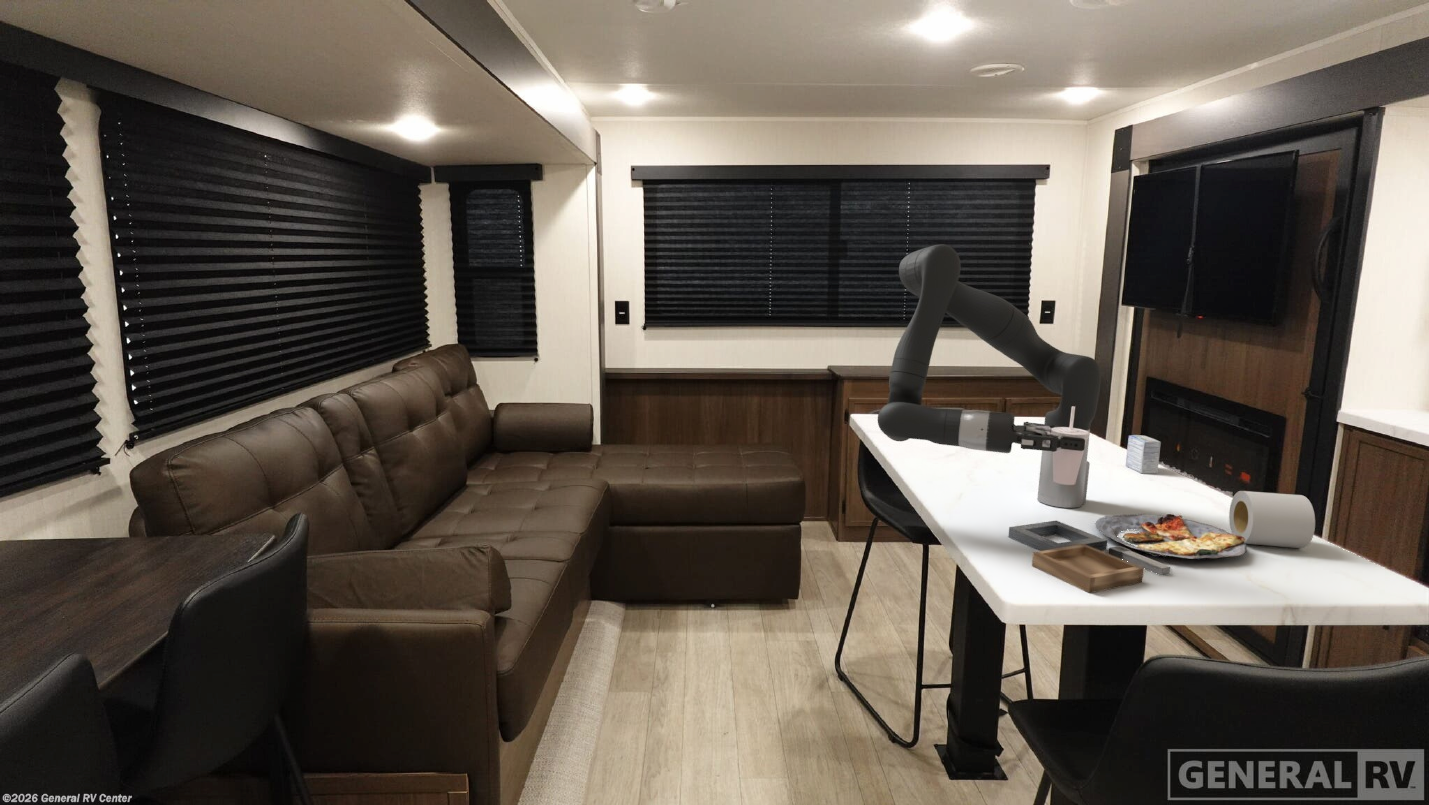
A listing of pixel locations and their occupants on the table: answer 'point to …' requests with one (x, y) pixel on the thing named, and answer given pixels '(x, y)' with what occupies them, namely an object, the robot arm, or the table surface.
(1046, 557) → the tray
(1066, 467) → the smoothie
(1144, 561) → the bar
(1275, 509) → the toilet paper
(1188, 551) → the food plate
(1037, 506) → the table surface
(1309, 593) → the table surface
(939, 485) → the table surface
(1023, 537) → the socket
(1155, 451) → the medicine box
